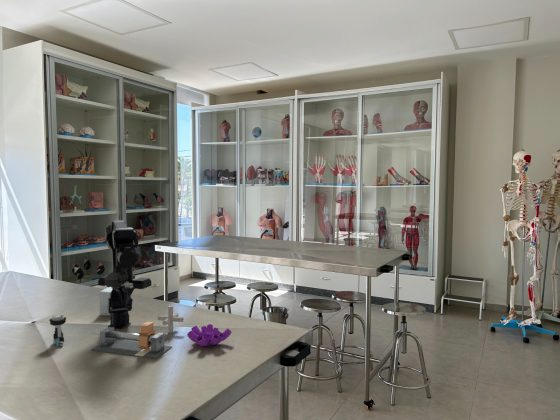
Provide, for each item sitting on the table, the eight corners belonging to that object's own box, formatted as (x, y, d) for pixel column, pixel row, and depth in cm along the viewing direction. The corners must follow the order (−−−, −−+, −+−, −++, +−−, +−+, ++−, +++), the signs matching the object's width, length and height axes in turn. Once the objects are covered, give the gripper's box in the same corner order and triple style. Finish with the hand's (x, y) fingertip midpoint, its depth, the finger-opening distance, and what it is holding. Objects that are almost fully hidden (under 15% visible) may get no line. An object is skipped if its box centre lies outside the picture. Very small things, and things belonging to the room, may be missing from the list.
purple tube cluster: (218, 360, 146) (206, 343, 141) (189, 349, 155) (177, 333, 150) (236, 333, 152) (225, 316, 147) (207, 325, 161) (196, 308, 156)
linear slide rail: (100, 346, 147) (100, 331, 147) (109, 341, 152) (109, 326, 152) (156, 354, 141) (156, 338, 141) (164, 348, 146) (164, 333, 146)
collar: (139, 348, 143) (138, 325, 142) (147, 342, 148) (147, 321, 147) (146, 349, 142) (146, 326, 142) (155, 343, 147) (155, 321, 146)
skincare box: (114, 315, 183) (113, 291, 182) (99, 315, 183) (98, 291, 182) (123, 308, 193) (123, 286, 193) (109, 308, 194) (109, 285, 193)
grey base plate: (91, 350, 145) (91, 348, 145) (110, 339, 155) (110, 338, 155) (156, 358, 138) (156, 357, 138) (171, 347, 148) (171, 346, 148)
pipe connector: (177, 337, 158) (176, 310, 157) (152, 335, 160) (152, 309, 159) (188, 328, 168) (188, 303, 167) (164, 326, 170) (164, 302, 169)
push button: (70, 345, 149) (69, 317, 149) (53, 349, 146) (52, 320, 145) (64, 340, 154) (63, 313, 153) (48, 343, 150) (47, 316, 150)
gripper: (86, 265, 147) (87, 309, 148) (133, 268, 142) (134, 314, 143) (107, 259, 158) (108, 301, 159) (152, 262, 153) (152, 305, 154)
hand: (125, 305), depth 153 cm, fingers closed
